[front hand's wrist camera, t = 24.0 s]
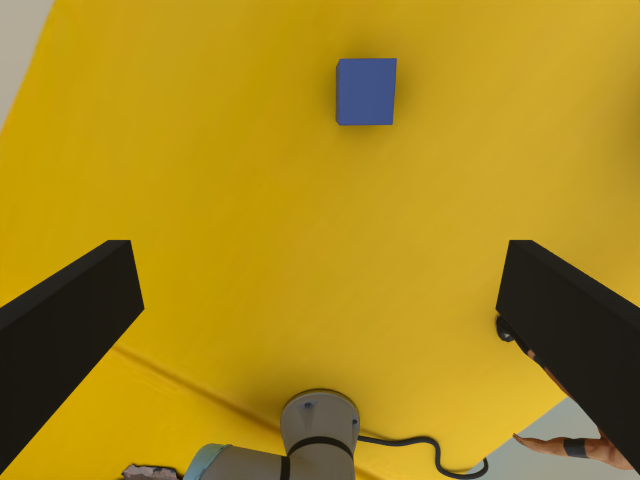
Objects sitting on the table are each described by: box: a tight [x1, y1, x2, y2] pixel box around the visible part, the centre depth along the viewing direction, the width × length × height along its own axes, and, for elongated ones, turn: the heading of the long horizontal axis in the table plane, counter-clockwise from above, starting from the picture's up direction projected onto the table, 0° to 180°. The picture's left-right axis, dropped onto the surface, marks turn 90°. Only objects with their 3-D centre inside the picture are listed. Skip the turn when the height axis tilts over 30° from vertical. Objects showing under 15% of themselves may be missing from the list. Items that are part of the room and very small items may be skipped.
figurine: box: [495, 315, 634, 470], centre depth 46 cm, size 24×6×30 cm, turn 130°
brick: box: [336, 58, 397, 125], centre depth 43 cm, size 6×7×9 cm
